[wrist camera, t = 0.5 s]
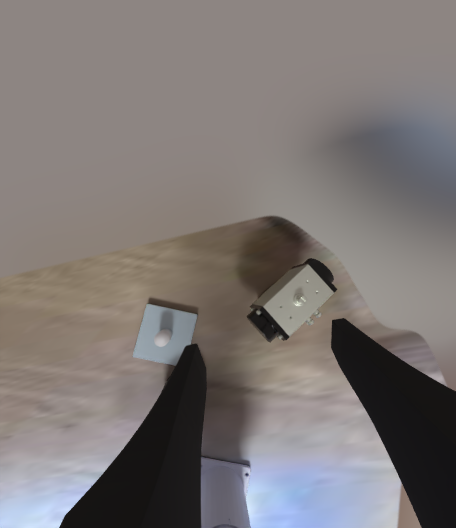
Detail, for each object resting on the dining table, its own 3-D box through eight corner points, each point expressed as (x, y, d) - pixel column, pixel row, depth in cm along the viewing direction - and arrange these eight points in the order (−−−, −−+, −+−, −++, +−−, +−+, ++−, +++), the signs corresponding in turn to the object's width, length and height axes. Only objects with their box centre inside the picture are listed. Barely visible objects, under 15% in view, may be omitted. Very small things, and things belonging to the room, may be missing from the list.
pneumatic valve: (238, 310, 36) (252, 319, 24) (288, 264, 38) (324, 251, 26) (260, 336, 36) (285, 358, 24) (310, 288, 37) (356, 286, 26)
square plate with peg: (185, 365, 34) (182, 374, 30) (134, 354, 34) (124, 363, 30) (197, 314, 35) (196, 316, 31) (148, 303, 35) (140, 304, 31)
